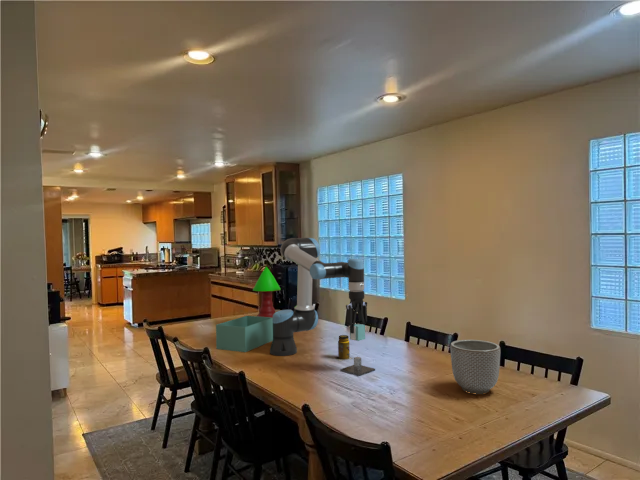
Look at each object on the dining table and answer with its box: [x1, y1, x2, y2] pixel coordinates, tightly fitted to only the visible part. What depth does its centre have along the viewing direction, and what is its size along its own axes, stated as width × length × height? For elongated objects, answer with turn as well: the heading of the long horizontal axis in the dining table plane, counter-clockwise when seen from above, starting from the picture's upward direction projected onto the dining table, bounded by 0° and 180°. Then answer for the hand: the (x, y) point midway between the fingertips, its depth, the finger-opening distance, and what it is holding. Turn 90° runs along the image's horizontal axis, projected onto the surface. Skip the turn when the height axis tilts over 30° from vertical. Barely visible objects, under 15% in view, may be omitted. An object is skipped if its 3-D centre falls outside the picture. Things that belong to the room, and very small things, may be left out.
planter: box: [449, 339, 501, 395], centre depth 185 cm, size 20×20×19 cm
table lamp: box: [252, 266, 281, 318], centre depth 314 cm, size 20×20×45 cm
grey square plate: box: [339, 356, 376, 377], centre depth 215 cm, size 12×12×6 cm
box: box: [215, 315, 273, 353], centre depth 272 cm, size 21×32×14 cm, turn 155°
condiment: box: [332, 334, 353, 362], centre depth 237 cm, size 7×8×12 cm
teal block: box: [349, 323, 366, 342], centre depth 215 cm, size 5×5×7 cm
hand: (357, 338), depth 215 cm, fingers closed on teal block, 5 cm apart
